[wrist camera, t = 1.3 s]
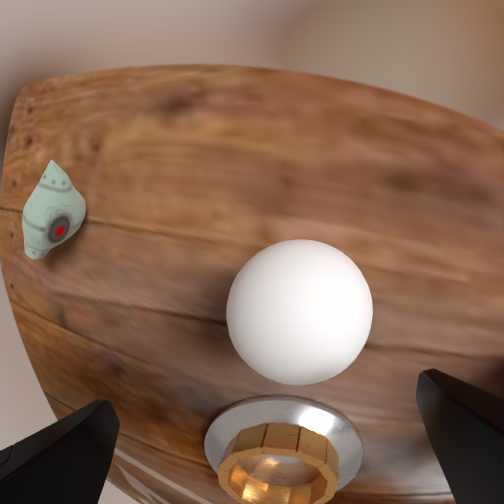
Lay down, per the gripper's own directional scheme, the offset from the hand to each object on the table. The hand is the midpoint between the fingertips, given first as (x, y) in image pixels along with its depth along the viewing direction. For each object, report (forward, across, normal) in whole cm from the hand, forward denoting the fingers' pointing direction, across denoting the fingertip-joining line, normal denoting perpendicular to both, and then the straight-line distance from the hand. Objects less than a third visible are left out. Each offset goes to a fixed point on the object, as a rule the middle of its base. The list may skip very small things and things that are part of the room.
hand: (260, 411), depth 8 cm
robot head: (+17, +14, -6) cm, 23 cm away
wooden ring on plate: (+13, +1, +17) cm, 21 cm away
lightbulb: (+14, -3, 0) cm, 14 cm away
